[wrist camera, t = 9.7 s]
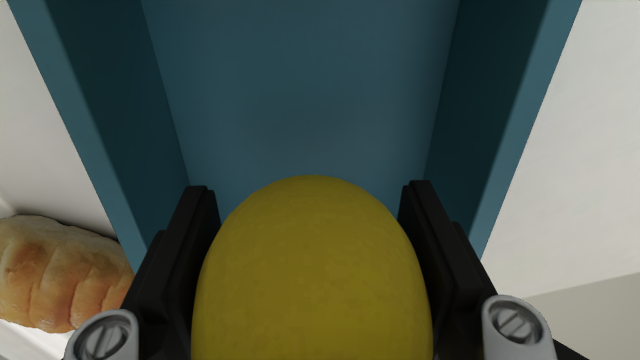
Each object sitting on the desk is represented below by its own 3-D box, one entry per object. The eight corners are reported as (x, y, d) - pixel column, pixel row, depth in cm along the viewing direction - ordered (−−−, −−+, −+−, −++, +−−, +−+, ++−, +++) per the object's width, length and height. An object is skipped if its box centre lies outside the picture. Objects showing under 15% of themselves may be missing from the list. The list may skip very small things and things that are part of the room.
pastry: (189, 247, 20) (168, 306, 17) (169, 312, 23) (149, 371, 20) (-2, 200, 17) (-68, 259, 14) (8, 281, 21) (-43, 343, 18)
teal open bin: (103, -86, 11) (-42, -97, 6) (491, -85, 12) (621, -96, 7) (200, 253, 20) (169, 351, 15) (416, 246, 21) (450, 339, 16)
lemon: (391, 114, 10) (544, 430, 4) (388, 246, 14) (468, 538, 7) (206, 135, 10) (45, 472, 4) (247, 260, 14) (196, 561, 7)
